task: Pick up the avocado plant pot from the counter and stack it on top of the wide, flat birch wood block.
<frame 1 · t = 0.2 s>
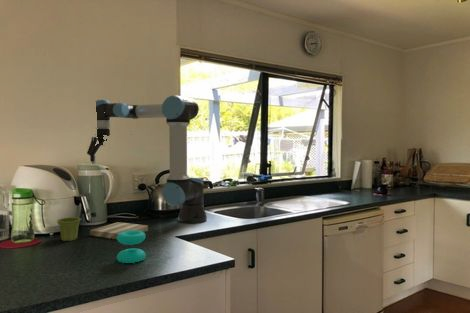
hand: (103, 166, 210), 28 cm above the worktop, tool pointing down, fingers open, 13 cm apart
plant pot: (69, 239, 164), on the worktop
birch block: (119, 234, 176), on the worktop
donuts: (131, 260, 136), on the worktop
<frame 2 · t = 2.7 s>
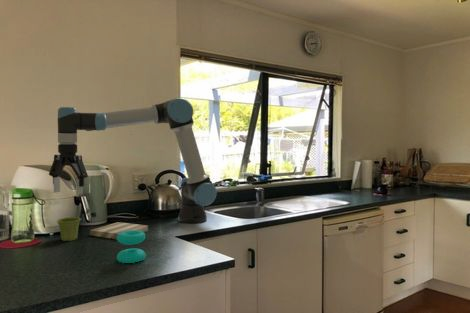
hand: (68, 193, 163), 20 cm above the worktop, tool pointing down, fingers open, 13 cm apart
nothing on the worktop moved.
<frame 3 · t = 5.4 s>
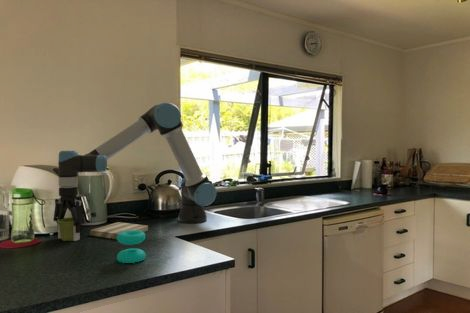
hand: (68, 238, 164), 0 cm above the worktop, tool pointing down, fingers closed on plant pot, 8 cm apart
plant pot: (69, 239, 164), on the worktop, touching gripper
everything else where it was.
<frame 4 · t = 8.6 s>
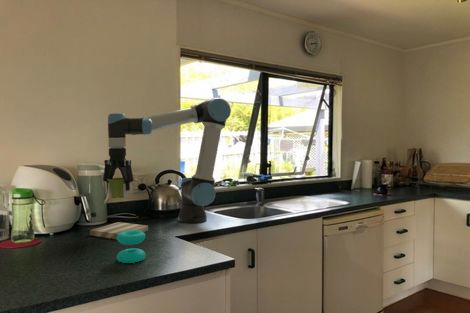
hand: (118, 197, 175), 17 cm above the worktop, tool pointing down, fingers closed on plant pot, 8 cm apart
plant pot: (118, 197, 175), point 16 cm above the worktop, touching gripper
everything else where it was.
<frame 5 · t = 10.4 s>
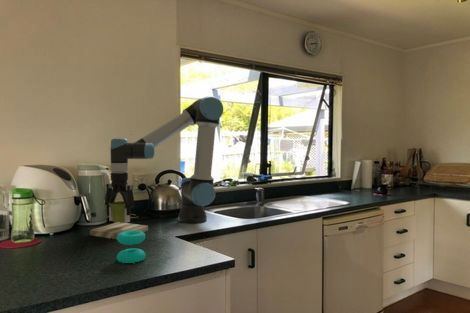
hand: (119, 221, 175), 6 cm above the worktop, tool pointing down, fingers closed on plant pot, 8 cm apart
plant pot: (119, 222, 176), point 5 cm above the worktop, touching gripper
everything else where it was.
when the fingers open (4 cm above the worktop, at t = 12.0 s): plant pot drops 1 cm, resting on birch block.
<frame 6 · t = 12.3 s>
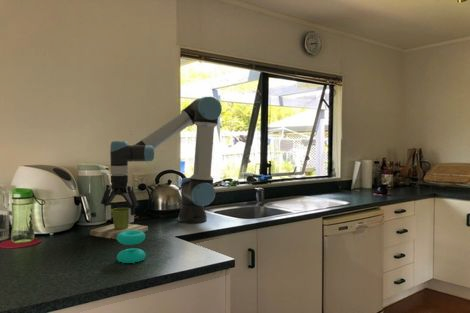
hand: (119, 220, 175), 6 cm above the worktop, tool pointing down, fingers open, 13 cm apart
plant pot: (121, 228, 176), point 2 cm above the worktop, touching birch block
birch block: (119, 234, 176), on the worktop, touching plant pot
everything else where it was.
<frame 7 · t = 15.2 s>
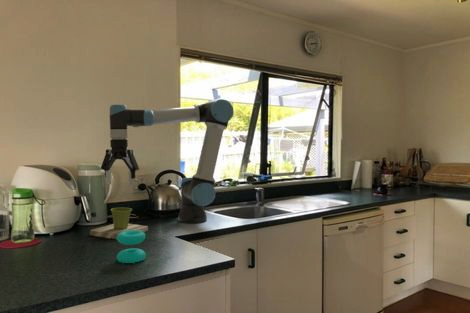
hand: (120, 185, 175), 22 cm above the worktop, tool pointing down, fingers open, 13 cm apart
nothing on the worktop moved.
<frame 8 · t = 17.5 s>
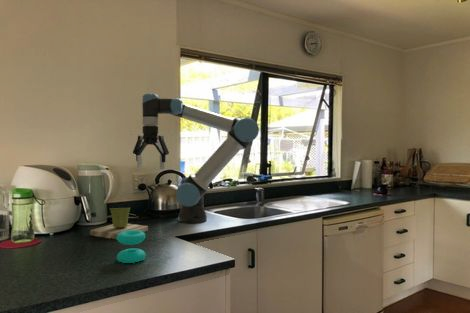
hand: (150, 168, 189), 29 cm above the worktop, tool pointing down, fingers open, 13 cm apart
at the end: plant pot inside the target area on the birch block (0.3 cm from its centre), point 3.4 cm above the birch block's base; plant pot tilted 12°; the gripper is holding nothing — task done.
